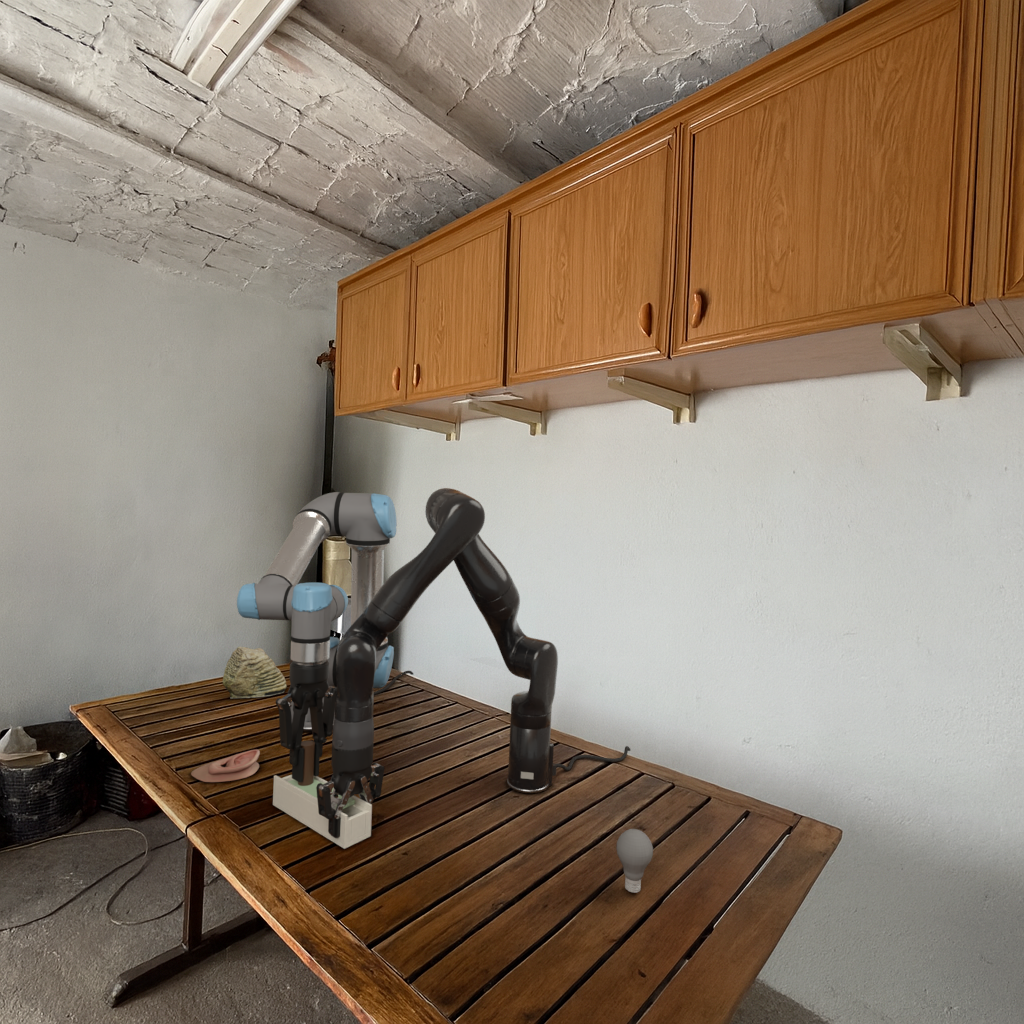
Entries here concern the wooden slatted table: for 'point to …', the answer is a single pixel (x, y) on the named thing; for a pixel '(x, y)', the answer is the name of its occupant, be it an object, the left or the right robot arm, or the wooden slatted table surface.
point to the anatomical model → (229, 768)
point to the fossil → (252, 674)
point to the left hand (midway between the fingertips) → (305, 776)
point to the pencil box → (306, 812)
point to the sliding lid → (311, 773)
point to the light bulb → (634, 857)
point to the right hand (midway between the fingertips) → (349, 829)
